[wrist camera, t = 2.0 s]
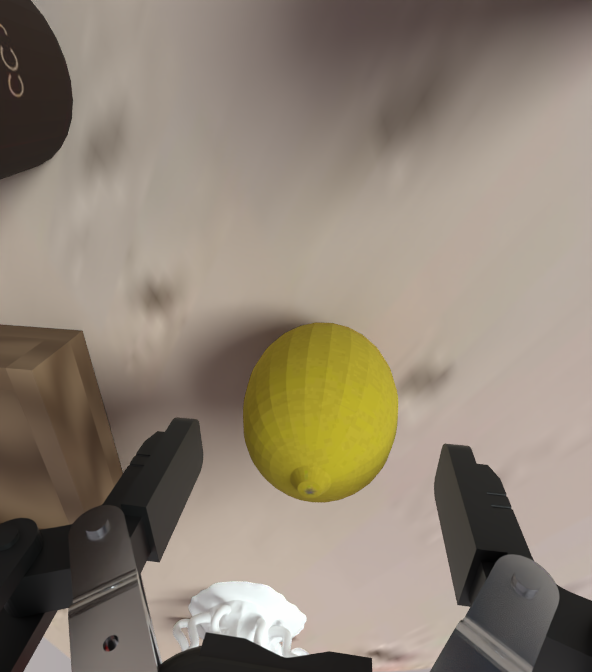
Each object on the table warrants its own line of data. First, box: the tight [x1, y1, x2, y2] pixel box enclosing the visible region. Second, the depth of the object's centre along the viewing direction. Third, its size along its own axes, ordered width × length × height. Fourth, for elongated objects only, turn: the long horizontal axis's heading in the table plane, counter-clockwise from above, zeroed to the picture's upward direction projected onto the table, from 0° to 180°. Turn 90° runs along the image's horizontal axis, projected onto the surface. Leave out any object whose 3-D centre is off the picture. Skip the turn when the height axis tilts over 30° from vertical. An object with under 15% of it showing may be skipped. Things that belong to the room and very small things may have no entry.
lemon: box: [243, 323, 398, 502], centre depth 15 cm, size 6×6×8 cm
